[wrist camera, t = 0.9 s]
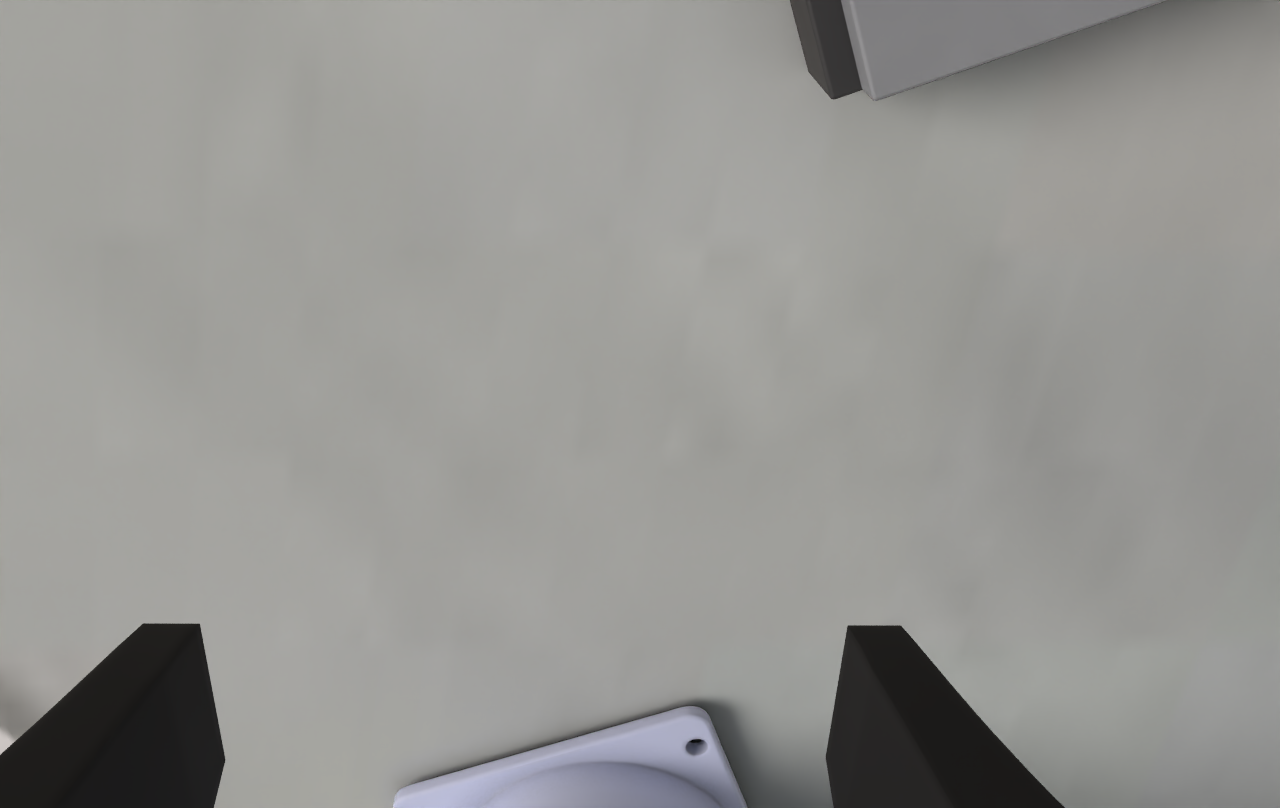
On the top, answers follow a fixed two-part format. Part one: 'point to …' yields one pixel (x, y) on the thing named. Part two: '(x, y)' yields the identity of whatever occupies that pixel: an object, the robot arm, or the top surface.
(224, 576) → the top surface
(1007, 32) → the scale
